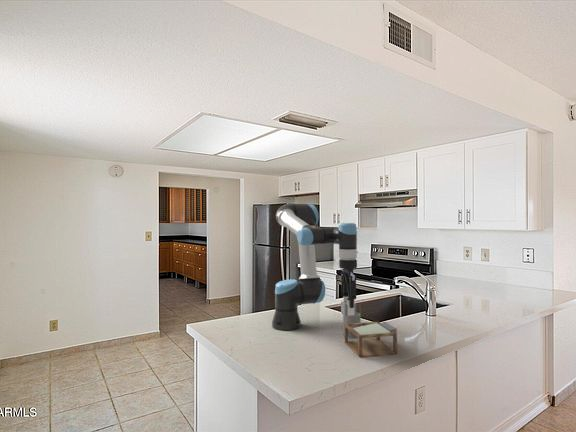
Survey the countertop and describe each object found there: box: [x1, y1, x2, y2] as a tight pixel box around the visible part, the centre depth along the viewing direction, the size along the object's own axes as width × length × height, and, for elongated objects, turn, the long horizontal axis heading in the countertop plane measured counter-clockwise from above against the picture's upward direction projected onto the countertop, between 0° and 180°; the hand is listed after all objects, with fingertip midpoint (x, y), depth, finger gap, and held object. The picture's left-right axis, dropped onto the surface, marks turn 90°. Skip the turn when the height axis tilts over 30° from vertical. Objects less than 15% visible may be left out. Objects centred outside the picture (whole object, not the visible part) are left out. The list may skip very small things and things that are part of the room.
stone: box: [340, 301, 357, 316], centre depth 151 cm, size 5×5×5 cm
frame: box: [344, 321, 398, 358], centre depth 152 cm, size 17×17×8 cm
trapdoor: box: [353, 321, 398, 341], centre depth 152 cm, size 16×13×2 cm
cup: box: [342, 311, 362, 339], centre depth 169 cm, size 8×8×10 cm
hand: (348, 313), depth 151 cm, fingers closed on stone, 5 cm apart
